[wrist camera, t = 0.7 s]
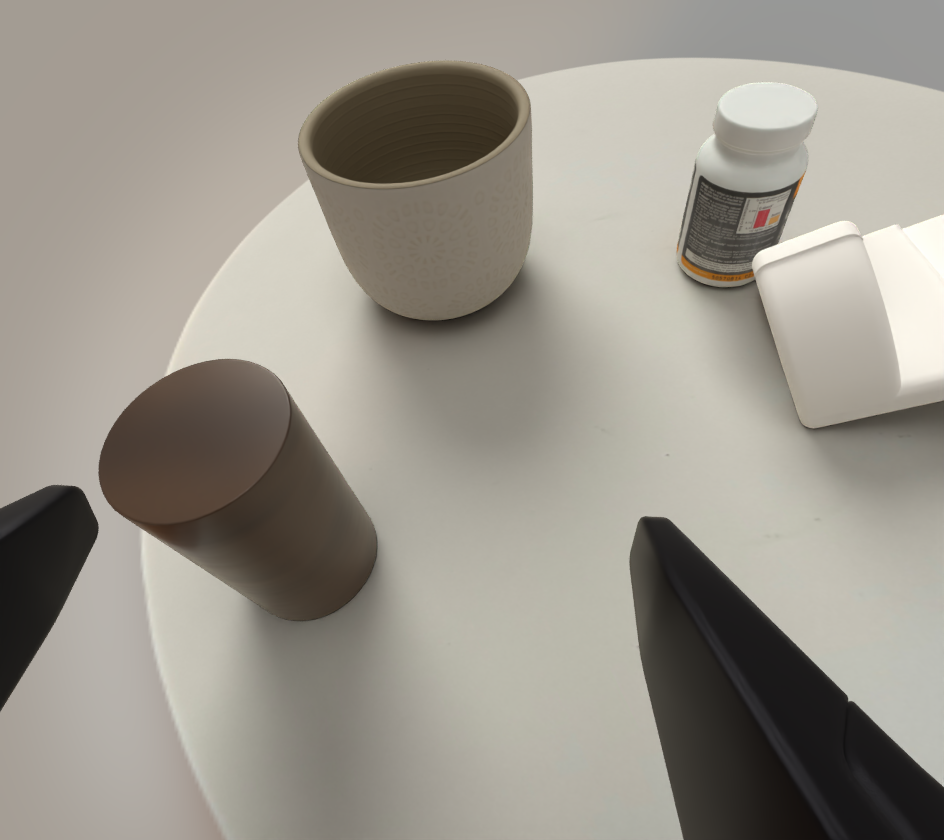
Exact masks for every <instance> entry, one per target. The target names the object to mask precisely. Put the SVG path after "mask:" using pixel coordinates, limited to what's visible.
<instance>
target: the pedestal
mask: <svg viewBox="0 0 944 840" xmlns="http://www.w3.org/2000/svg"><path fill="white" fill-rule="evenodd" d="M99 480H100V485H101V488H102V492H103V494H104V496H105V498H106V500H107V501H108V503H109V504H110V505H111V506H112V507H113V509H114V510H115V511H117V512H118V513H119V514H121V515H122V516H123V517H125V518H126V519H128V520H129V521H131V522H132V523H134V524H136V525H137V526H139V527H140V528H142V529H143V530H145V531H146V532H148V533H149V534H151V535H152V536H154V537H155V538H157V539H158V540H160V541H161V542H163V543H164V544H166V545H168V546H169V547H171V548H172V549H174V550H175V551H177V552H178V553H180V554H181V555H183V556H184V557H186V558H187V559H189V560H190V561H192V562H193V563H195V564H196V565H198V566H200V567H201V568H203V569H204V570H206V571H207V572H209V573H210V574H212V575H213V576H215V577H216V578H218V579H219V580H221V581H222V582H224V583H225V584H227V585H228V586H230V587H232V588H233V589H235V590H236V591H238V592H239V593H241V594H242V595H244V596H245V597H247V598H248V599H250V600H251V601H253V602H254V603H256V604H257V605H259V606H260V607H262V608H264V609H265V610H267V611H268V612H270V613H271V614H273V615H275V616H277V617H280V618H283V619H286V620H293V621H306V620H313V619H317V618H320V617H323V616H326V615H328V614H330V613H332V612H334V611H336V610H338V609H339V608H341V607H342V606H344V605H345V604H346V603H347V602H349V601H350V600H351V599H352V598H353V597H354V596H355V595H356V594H357V593H358V592H359V590H360V589H361V588H362V586H363V585H364V584H365V582H366V580H367V578H368V577H369V575H370V573H371V570H372V568H373V565H374V561H375V558H376V551H377V538H376V532H375V528H374V525H373V523H372V521H371V518H370V517H369V515H368V514H367V512H366V511H365V509H364V508H363V506H362V505H361V503H360V502H359V500H358V498H357V497H356V495H355V494H354V492H353V491H352V489H351V488H350V486H349V485H348V483H347V482H346V480H345V478H344V477H343V475H342V474H341V472H340V471H339V469H338V468H337V466H336V465H335V463H334V462H333V460H332V458H331V457H330V455H329V454H328V452H327V451H326V449H325V448H324V446H323V445H322V443H321V442H320V440H319V438H318V437H317V435H316V434H315V432H314V431H313V429H312V428H311V426H310V425H309V423H308V422H307V420H306V418H305V417H304V415H303V414H302V412H301V411H300V409H299V408H298V406H297V405H296V403H295V401H294V400H293V398H292V397H291V395H290V394H289V392H288V391H287V389H286V388H285V386H284V385H283V383H282V382H281V380H280V379H279V378H278V377H277V376H276V375H275V374H274V373H272V372H271V371H269V370H268V369H266V368H264V367H262V366H260V365H258V364H255V363H252V362H249V361H244V360H237V359H218V360H211V361H205V362H201V363H197V364H194V365H191V366H188V367H185V368H183V369H180V370H178V371H176V372H174V373H172V374H170V375H168V376H166V377H164V378H162V379H161V380H159V381H158V382H156V383H155V384H153V385H152V386H150V387H149V388H148V389H146V390H145V391H144V392H142V393H141V394H140V395H139V396H138V397H137V398H136V399H135V400H134V401H133V402H132V403H131V404H130V405H129V406H128V407H127V408H126V409H125V410H124V411H123V412H122V414H121V415H120V416H119V418H118V419H117V421H116V422H115V423H114V425H113V427H112V428H111V430H110V432H109V434H108V436H107V438H106V440H105V442H104V445H103V448H102V451H101V455H100V460H99Z"/></svg>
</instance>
